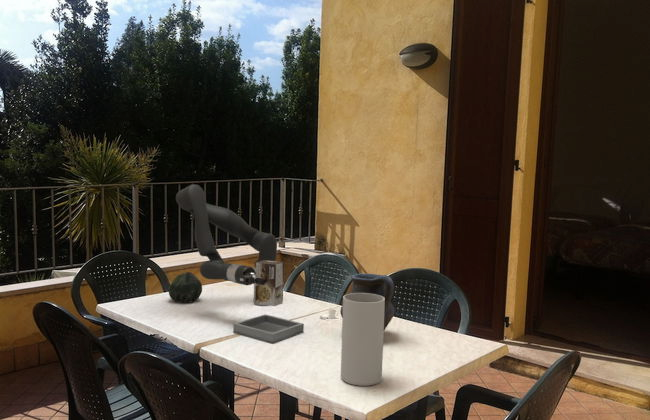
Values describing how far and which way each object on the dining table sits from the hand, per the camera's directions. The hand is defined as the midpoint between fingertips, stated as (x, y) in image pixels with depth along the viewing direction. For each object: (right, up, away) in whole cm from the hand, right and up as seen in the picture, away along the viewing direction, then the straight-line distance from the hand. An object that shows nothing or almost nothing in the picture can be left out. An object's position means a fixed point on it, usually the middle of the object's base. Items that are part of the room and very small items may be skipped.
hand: (271, 280), depth 203 cm
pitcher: (+37, -22, 0) cm, 43 cm away
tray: (-1, -20, +2) cm, 20 cm away
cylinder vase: (+31, -25, -41) cm, 57 cm away
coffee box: (-1, -9, +1) cm, 9 cm away
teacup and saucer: (+21, -20, +28) cm, 40 cm away
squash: (-45, -16, +47) cm, 67 cm away
